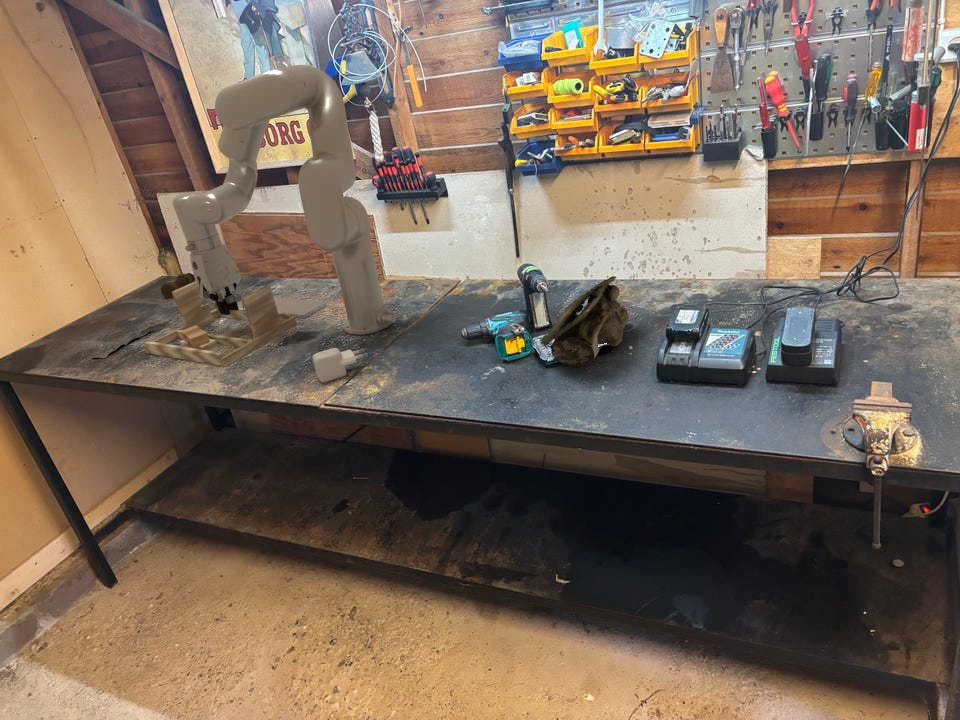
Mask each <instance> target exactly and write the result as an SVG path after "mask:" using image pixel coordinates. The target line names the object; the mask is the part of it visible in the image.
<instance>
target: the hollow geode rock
mask: <svg viewBox="0 0 960 720" xmlns="http://www.w3.org/2000/svg"><path fill="white" fill-rule="evenodd" d="M616 279H617V276H615V275H613V276H610V277H609V278H607V279H604V280H602V281H601V282H600V283H599V284H596V285H595V286H594V287H592V288H590V289H589V290H588V291H586V292H585V294H581V295H579V297H578V298H576V299H575V300H574V301H572V302H571V303H570V304H569V305H568V306H567V307H565V308H564V311H563V312H562V313H561V315H559V316H558V317H557V319H556V321H555V323H554V324H553V325H552V327H551V328H549V331H548V332H547V334H545V335H544V336H543V337H541V339H540V341H541V342H540V343H541V344H542V345H543V346H544V347H546V346H547V345H549V343H552V344H550V350H551V351H550V352H551V355H552V357H553V358H554V359H555V360H556V361H557V362H558V363H560V364H563V365H566V366H569V367H571V368H572V369H582V368H583V367H585V366H587V365H589V364H590V363H594V362H595V359H596V357H597V355H598V353H599V352H600V349H601V348H602V347H598V344H604V343H607V344H609V345H608V346H611V347H615V346H618V345H620V343H622V341H623V335H624V333H625V332H624V329H625V328H626V325H627V324H628V321H629V312H628V310H627V309H626V308H625V307H624V306H621V304H620V302H618V301H617V300H618V298H619V296H620V289H619V287H618V286H617V285H614V284H611V282H615V280H616ZM586 301H587V302H586ZM586 303H587V304H586ZM584 304H586V305H585V306H584ZM577 313H579V314H577Z"/></svg>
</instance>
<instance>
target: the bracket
mask: <svg viewBox="0 0 960 720" xmlns="http://www.w3.org/2000/svg"><path fill="white" fill-rule="evenodd" d="M253 292H254V291H249V292H246V293H245V292H240V291H239V292H236V294H234V295H231V296H229V297H227V298H223V300H226V302H227V304H229V303H232V302H235V301H237V302H240V301H242V298H244V297H246V296H248V295H250V294H251V293H253ZM228 298H229V299H228ZM233 299H234V300H233ZM208 305H209V306H212V305H214V306H212V307H209V308H210V309H208V310H206V309H205V308H204V306H208ZM242 307H243V313H244V315H245V316H246V315H247V314H246V311H245V312H244V305H243V301H242ZM200 308H201V309H202V310H203V312H207V311H209V310H210V311H213V310H216V308H218V307H217V304H216V302H215V301H213V300H211V301H210V302H208V304H205V305H202V306H200ZM246 318H248V317H247V316H246Z"/></svg>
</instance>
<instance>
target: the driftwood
mask: <svg viewBox="0 0 960 720" xmlns="http://www.w3.org/2000/svg"><path fill="white" fill-rule="evenodd" d="M151 326H152V325H151V324H150V323H147V322H145V323H144V326H143V327H141V328H139V329H136V331H133V332H132V333H130V334H128V335H125V336H124V337H121V338H120V339H119V340H116V341H114V342H113V343H112V344H109V345H106V346H105V347H104V348H103V349H102V350H100V351H99V353H98V354H97V355H96V356H94V357H92V358H91V360H93V359H97V358H101V359H106V358H107V357H108V355H110V354H111V353H112V352H114V351H116V350H117V349H118V348H119V347H121V346H122V345H124V346H125V347H126V346H127V345H128V343H130V342H131V341H132V340H134V339H137V338H141V337H143V336H145V335H147V334H148V333H150V332H151V330H147V329H148V328H149V327H151ZM153 329H154V330H155V329H156V327H154V328H153ZM144 330H147V331H145V333H143V334H140V333H141V332H142V331H144ZM136 334H140V335H138V336H135V337H132V336H133V335H136Z"/></svg>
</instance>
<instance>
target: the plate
mask: <svg viewBox="0 0 960 720" xmlns="http://www.w3.org/2000/svg"><path fill="white" fill-rule="evenodd" d="M273 298H274V301H275V305H276V308H277V311H278V312H284V313H291V315H292V317H295V319H307V318H308V317H309V316H312V315H313V314H314V313H316V312H318V311H320V310H322V309H323V308H325V307H326V306H327V302H326V301H320V300H319V301H318V300H311V299H310V300H308V299H307V300H306V299H297V298H287V297H276V296H275V297H274V296H273ZM237 304H238V308H243V307H242V301H237ZM243 305H244V304H243ZM244 308H245V307H244Z"/></svg>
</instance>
